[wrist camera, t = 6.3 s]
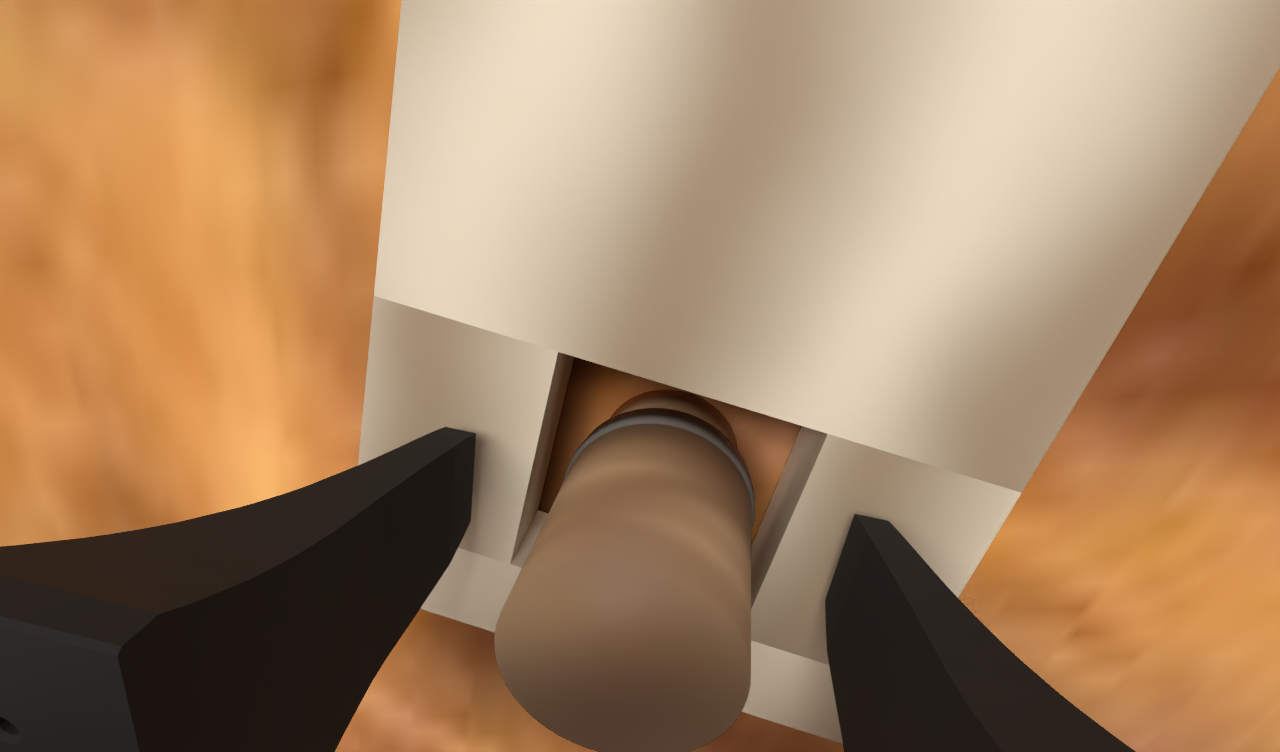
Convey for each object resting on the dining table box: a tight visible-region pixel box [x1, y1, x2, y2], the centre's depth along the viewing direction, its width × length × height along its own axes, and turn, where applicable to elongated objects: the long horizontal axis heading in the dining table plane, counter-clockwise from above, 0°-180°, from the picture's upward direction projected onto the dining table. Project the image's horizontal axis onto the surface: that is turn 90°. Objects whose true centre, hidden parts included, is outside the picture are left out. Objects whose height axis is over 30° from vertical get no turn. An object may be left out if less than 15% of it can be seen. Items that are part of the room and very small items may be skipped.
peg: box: [494, 390, 754, 752], centre depth 12 cm, size 4×4×6 cm
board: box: [358, 0, 1280, 744], centre depth 12 cm, size 12×16×2 cm
